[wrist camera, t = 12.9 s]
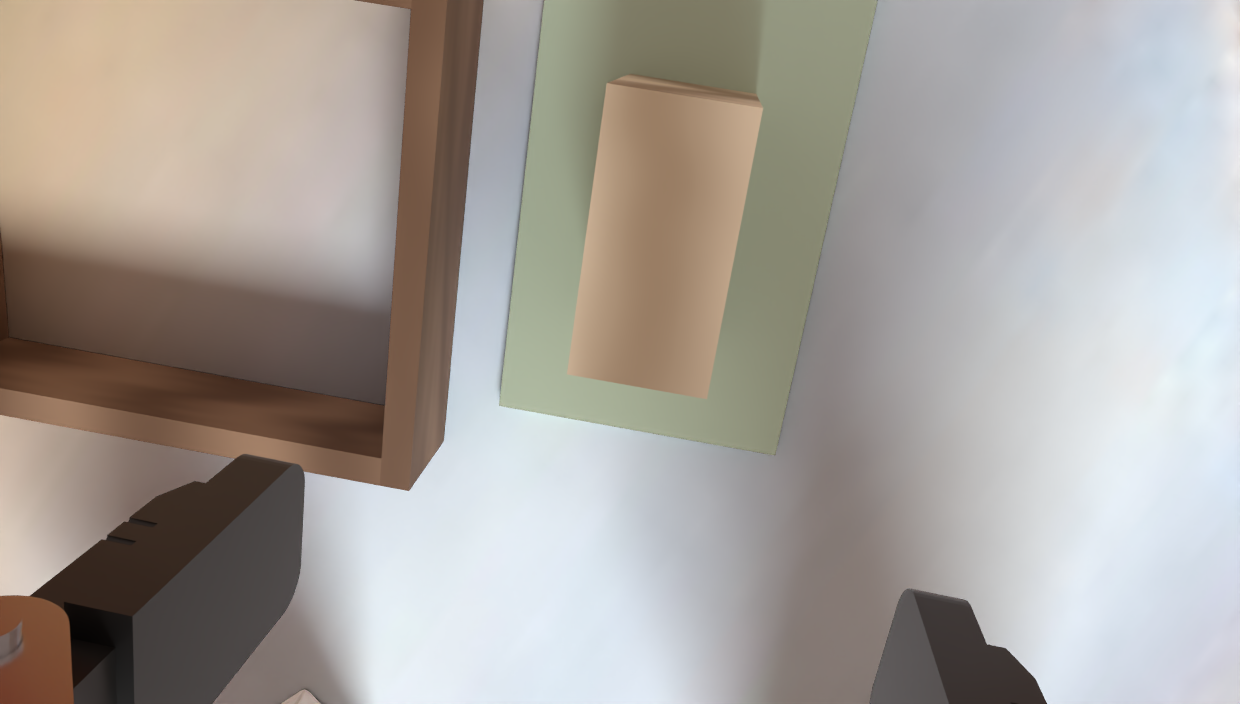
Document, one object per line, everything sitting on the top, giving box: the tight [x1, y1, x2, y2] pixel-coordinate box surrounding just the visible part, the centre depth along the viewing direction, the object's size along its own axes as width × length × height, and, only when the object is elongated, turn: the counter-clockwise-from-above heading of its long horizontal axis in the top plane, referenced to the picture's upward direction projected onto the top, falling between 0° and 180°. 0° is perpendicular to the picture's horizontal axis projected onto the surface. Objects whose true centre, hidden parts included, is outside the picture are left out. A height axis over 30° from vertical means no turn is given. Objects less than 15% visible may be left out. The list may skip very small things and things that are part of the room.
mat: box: [499, 0, 878, 455], centre depth 31 cm, size 10×16×1 cm, turn 172°
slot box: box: [0, 0, 484, 491], centre depth 30 cm, size 18×16×4 cm
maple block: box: [567, 74, 763, 399], centre depth 28 cm, size 4×8×6 cm, turn 172°
